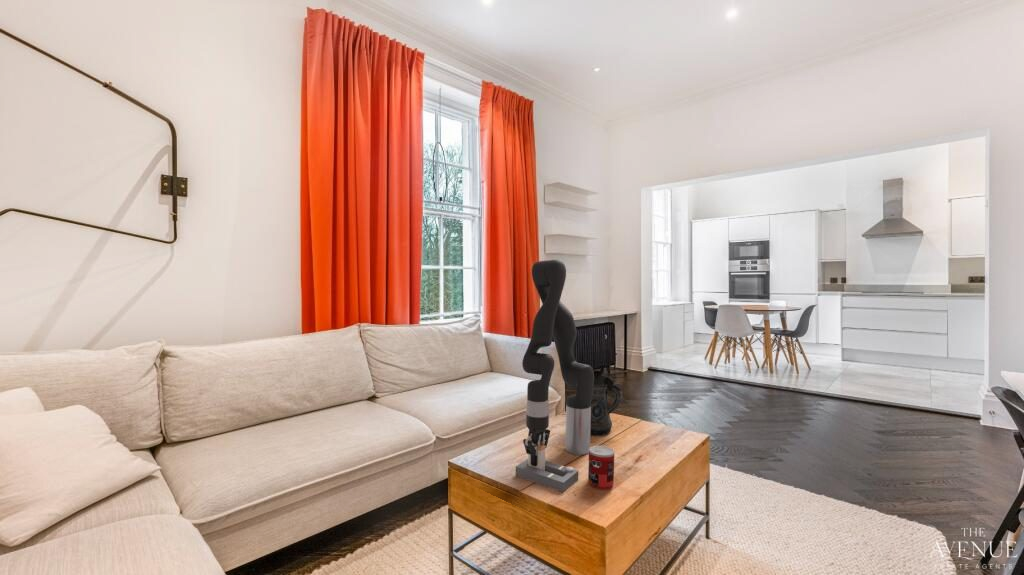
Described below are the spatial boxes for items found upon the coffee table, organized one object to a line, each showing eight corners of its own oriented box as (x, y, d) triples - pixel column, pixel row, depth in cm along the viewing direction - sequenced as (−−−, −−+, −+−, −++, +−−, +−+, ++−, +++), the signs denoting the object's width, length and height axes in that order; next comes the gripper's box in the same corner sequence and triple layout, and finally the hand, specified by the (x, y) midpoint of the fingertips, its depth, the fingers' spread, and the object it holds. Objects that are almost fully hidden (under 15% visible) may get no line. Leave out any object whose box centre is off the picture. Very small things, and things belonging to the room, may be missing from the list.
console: (532, 464, 151) (532, 454, 151) (578, 479, 140) (578, 469, 140) (515, 475, 143) (515, 464, 143) (563, 492, 132) (563, 481, 132)
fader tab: (532, 469, 147) (532, 442, 146) (545, 473, 144) (545, 445, 143) (527, 472, 144) (528, 444, 144) (540, 477, 141) (541, 448, 141)
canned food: (585, 478, 141) (586, 445, 141) (609, 477, 142) (610, 445, 142) (591, 490, 134) (592, 455, 133) (616, 489, 134) (617, 455, 134)
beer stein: (569, 422, 194) (571, 367, 193) (612, 422, 195) (613, 367, 194) (577, 436, 178) (579, 376, 177) (623, 436, 179) (625, 376, 178)
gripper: (535, 420, 135) (534, 474, 136) (557, 409, 147) (556, 459, 147) (516, 415, 140) (515, 468, 140) (539, 405, 151) (538, 453, 152)
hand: (536, 463), depth 144 cm, fingers closed on fader tab, 2 cm apart
